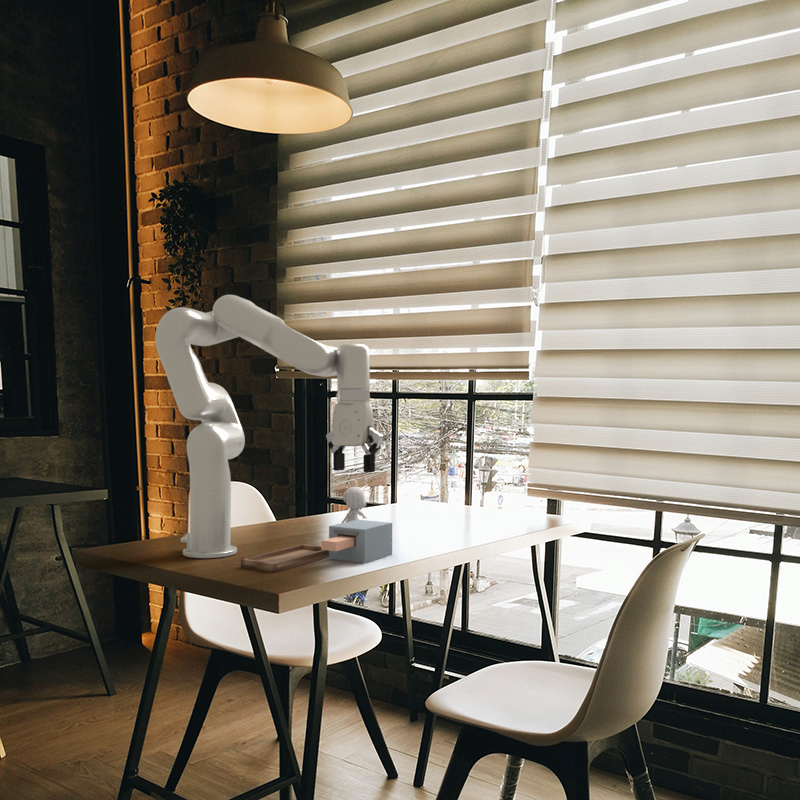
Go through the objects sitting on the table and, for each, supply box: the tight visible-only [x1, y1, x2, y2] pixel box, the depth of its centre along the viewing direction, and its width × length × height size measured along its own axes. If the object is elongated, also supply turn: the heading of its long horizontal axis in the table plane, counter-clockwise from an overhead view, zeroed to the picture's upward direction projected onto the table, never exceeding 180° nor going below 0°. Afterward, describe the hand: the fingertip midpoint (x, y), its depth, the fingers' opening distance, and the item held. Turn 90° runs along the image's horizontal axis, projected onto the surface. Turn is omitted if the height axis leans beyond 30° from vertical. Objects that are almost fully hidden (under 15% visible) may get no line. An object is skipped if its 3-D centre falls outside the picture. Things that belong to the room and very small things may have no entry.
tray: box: [240, 543, 329, 573], centre depth 166 cm, size 10×22×2 cm, turn 150°
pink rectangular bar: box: [320, 535, 356, 551], centre depth 167 cm, size 4×16×2 cm, turn 150°
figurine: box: [340, 486, 367, 524], centre depth 187 cm, size 10×6×15 cm, turn 146°
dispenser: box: [328, 519, 393, 564], centre depth 171 cm, size 10×12×8 cm
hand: (353, 471), depth 168 cm, fingers open, 9 cm apart
